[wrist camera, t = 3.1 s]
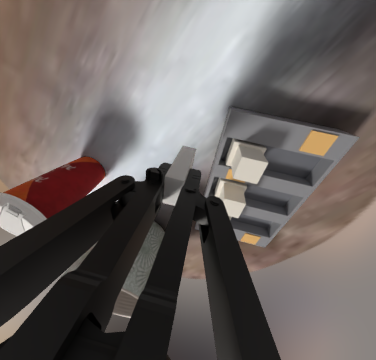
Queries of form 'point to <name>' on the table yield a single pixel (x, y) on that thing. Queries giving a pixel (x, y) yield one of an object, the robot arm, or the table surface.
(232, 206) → the tab
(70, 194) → the paper cup
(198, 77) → the table surface
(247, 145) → the tab
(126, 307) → the concrete flower pot
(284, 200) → the switch bank
